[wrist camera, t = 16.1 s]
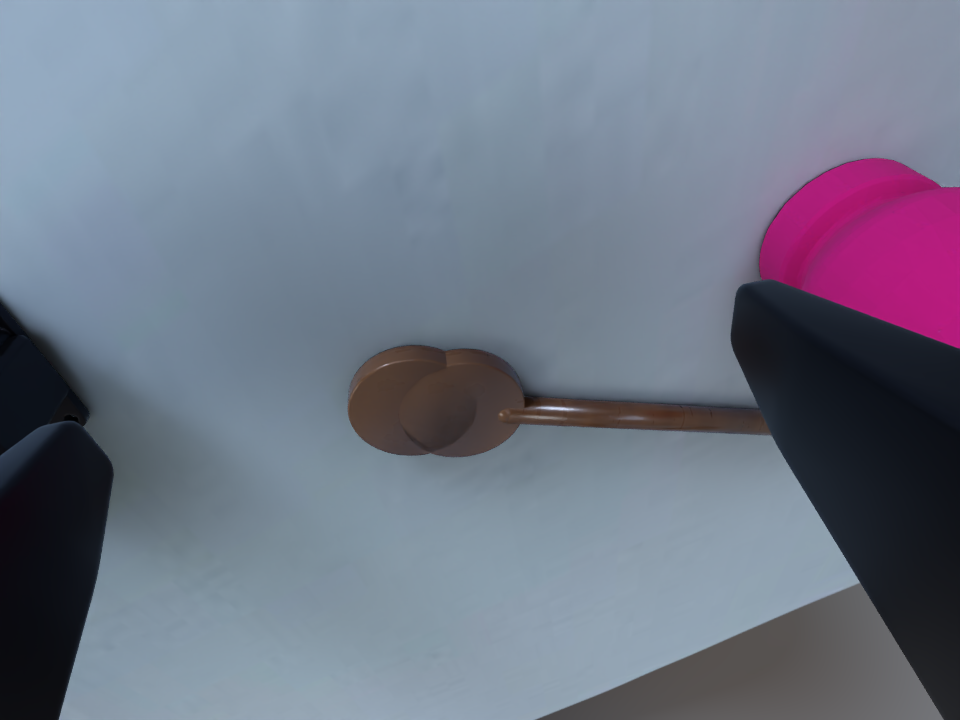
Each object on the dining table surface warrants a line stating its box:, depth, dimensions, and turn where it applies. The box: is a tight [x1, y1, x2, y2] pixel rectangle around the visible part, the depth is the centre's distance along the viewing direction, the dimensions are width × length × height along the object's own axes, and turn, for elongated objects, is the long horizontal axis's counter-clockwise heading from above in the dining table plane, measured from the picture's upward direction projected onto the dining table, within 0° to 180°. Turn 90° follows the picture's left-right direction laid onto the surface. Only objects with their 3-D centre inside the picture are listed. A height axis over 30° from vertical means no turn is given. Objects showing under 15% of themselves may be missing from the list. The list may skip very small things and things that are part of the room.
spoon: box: [348, 345, 772, 457], centre depth 27 cm, size 22×5×1 cm, turn 80°
